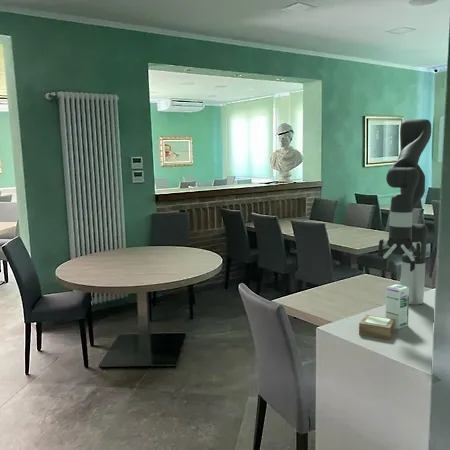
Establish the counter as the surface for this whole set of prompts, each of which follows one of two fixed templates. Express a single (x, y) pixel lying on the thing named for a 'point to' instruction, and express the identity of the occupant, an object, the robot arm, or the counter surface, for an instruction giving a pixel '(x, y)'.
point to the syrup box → (397, 304)
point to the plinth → (377, 326)
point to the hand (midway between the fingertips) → (398, 269)
